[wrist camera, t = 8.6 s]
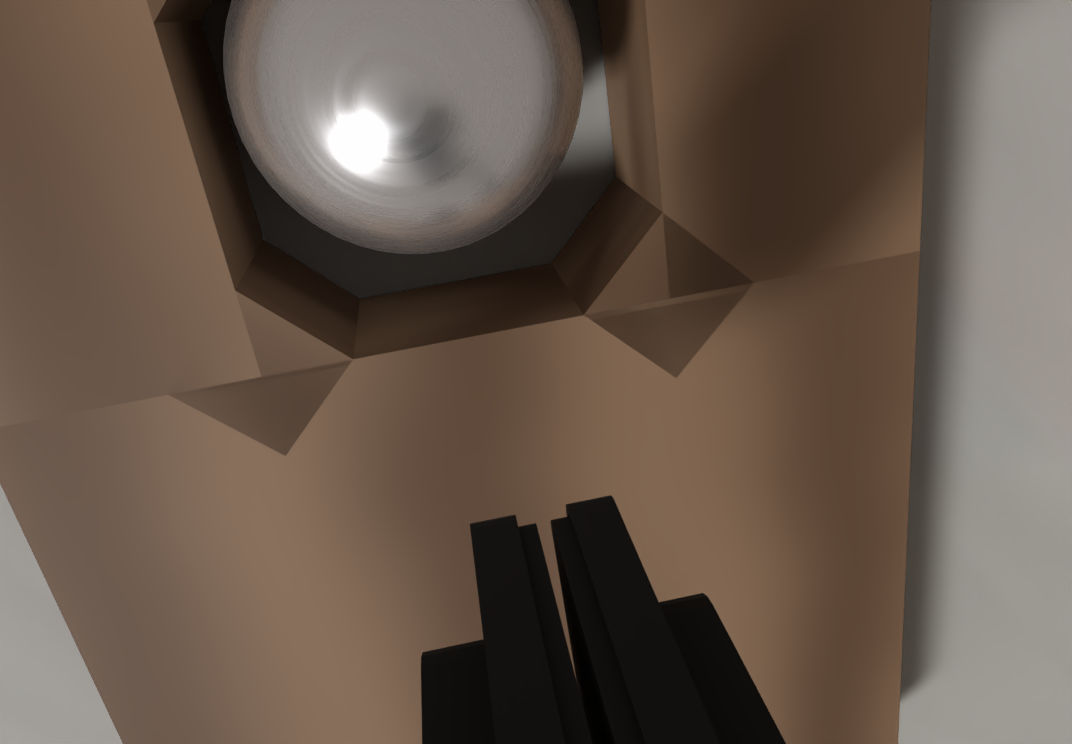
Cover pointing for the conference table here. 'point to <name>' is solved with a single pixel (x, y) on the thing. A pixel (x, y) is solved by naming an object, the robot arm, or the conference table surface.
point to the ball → (405, 111)
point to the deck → (464, 375)
